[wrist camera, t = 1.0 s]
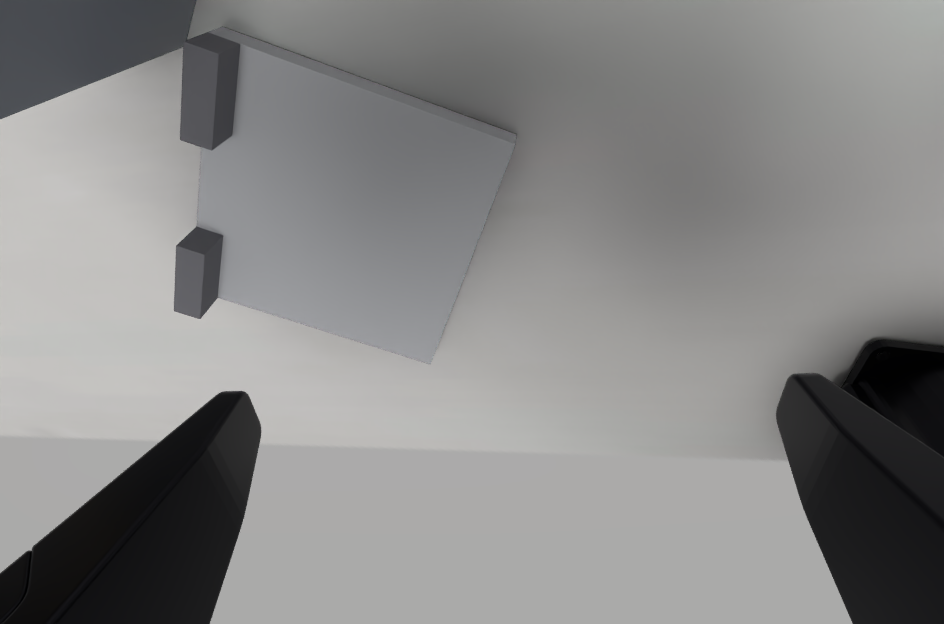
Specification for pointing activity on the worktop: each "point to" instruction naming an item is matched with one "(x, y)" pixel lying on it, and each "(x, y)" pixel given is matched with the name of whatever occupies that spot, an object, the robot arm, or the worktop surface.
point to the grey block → (80, 43)
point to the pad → (329, 195)
